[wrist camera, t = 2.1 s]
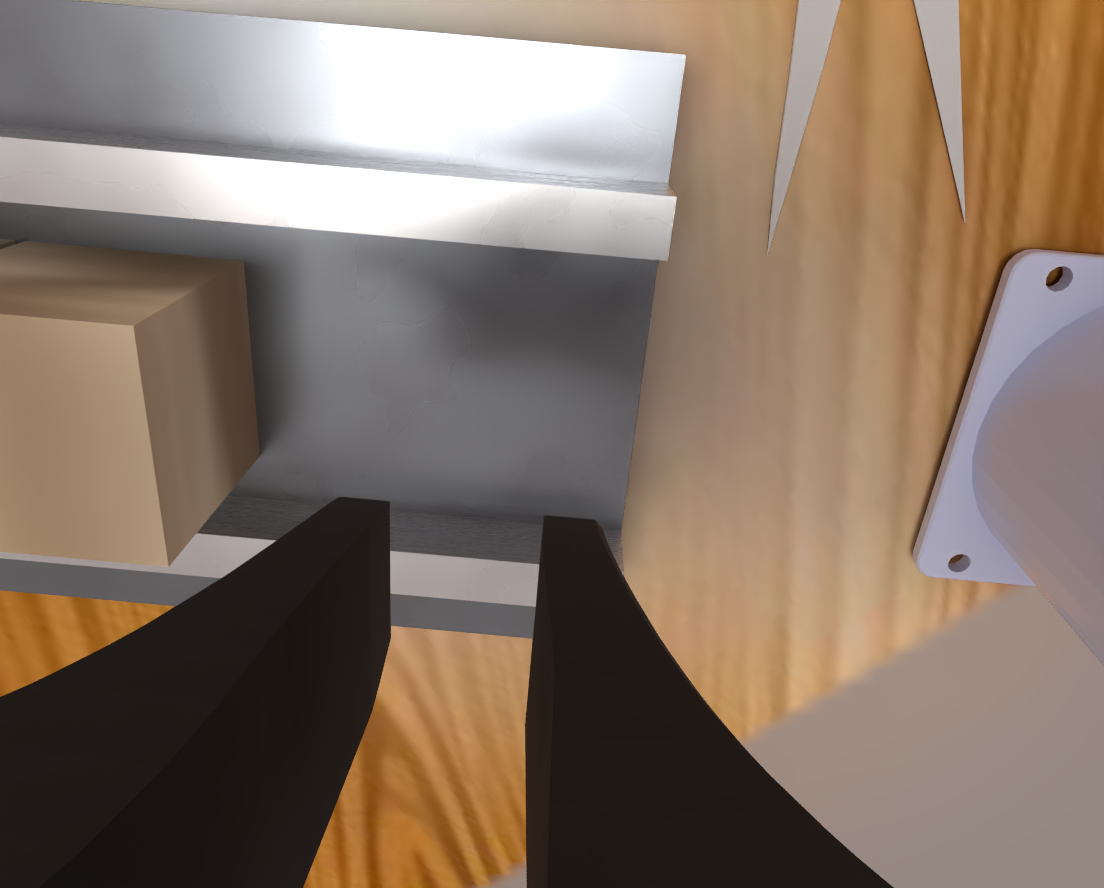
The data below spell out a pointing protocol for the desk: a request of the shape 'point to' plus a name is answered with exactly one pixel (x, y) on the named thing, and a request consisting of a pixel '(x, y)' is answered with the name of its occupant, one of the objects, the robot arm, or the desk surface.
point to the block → (120, 399)
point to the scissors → (806, 65)
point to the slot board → (370, 270)
